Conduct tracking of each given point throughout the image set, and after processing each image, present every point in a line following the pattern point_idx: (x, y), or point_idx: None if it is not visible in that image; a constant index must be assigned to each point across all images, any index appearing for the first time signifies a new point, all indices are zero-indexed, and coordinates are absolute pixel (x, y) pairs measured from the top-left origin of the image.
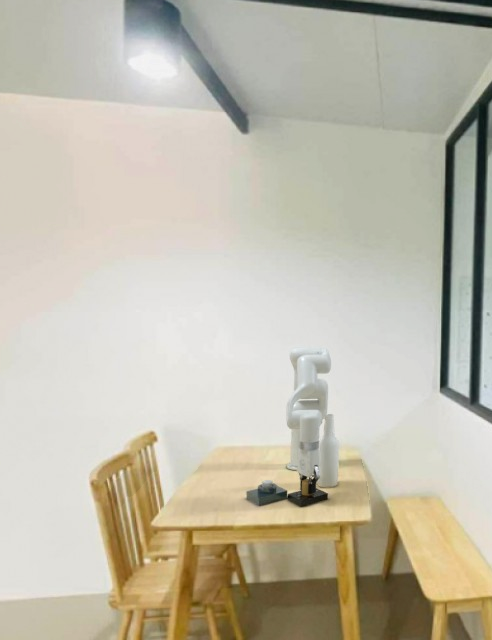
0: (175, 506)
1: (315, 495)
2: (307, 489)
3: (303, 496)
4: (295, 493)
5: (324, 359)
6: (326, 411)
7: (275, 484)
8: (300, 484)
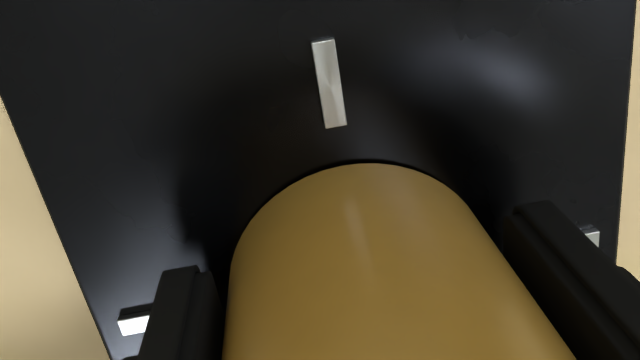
0: None
1: None
2: (234, 319)
3: (239, 148)
4: (534, 61)
5: None
6: None
7: None
8: (619, 276)
